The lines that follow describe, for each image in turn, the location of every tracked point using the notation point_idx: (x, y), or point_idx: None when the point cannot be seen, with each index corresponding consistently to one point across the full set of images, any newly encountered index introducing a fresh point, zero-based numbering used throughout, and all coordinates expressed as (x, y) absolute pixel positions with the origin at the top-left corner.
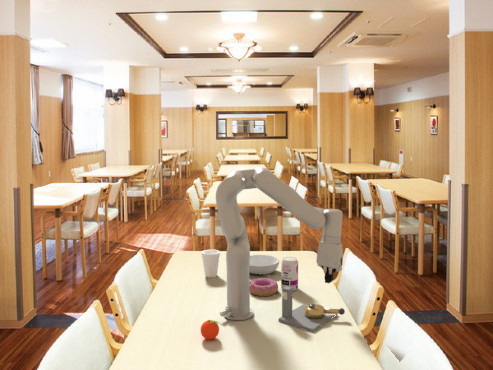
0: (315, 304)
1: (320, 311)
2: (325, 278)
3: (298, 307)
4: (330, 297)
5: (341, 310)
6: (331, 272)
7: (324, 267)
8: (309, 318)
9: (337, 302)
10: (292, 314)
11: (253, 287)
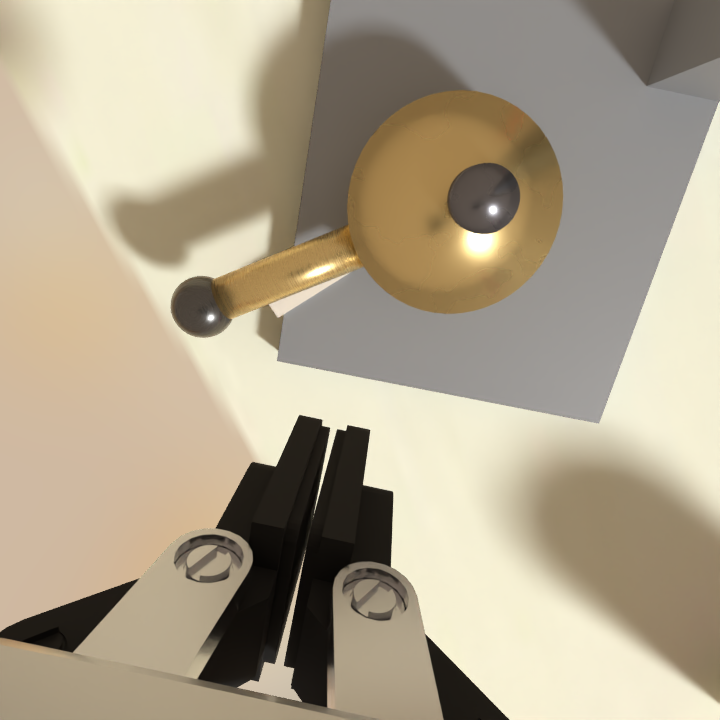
0: (467, 301)
1: (364, 148)
2: (355, 464)
3: (631, 316)
4: (436, 641)
5: (187, 286)
6: (157, 566)
7: (400, 718)
8: None
9: None
10: (651, 124)
11: None
